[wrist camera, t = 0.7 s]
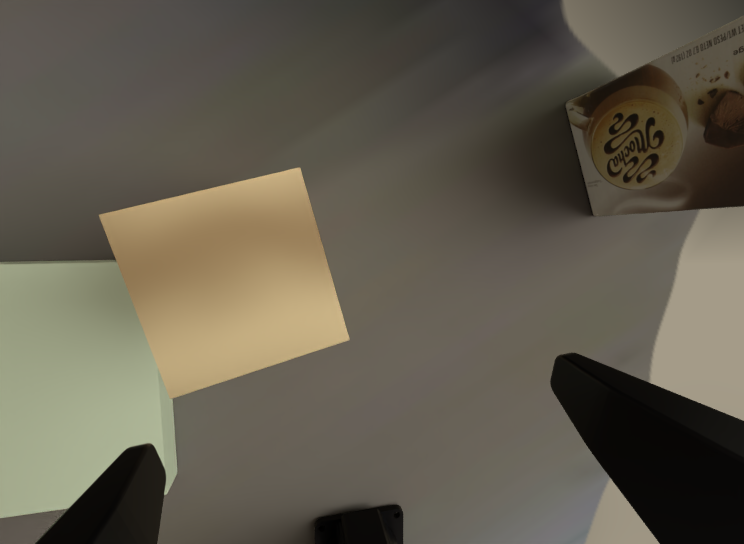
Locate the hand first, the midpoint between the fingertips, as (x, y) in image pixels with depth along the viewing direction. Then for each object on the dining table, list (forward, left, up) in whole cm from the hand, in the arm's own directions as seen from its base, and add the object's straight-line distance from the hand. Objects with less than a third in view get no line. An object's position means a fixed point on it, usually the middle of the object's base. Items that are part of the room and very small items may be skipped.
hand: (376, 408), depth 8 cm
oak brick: (+2, +4, -17) cm, 17 cm away
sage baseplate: (-5, +17, -17) cm, 24 cm away
